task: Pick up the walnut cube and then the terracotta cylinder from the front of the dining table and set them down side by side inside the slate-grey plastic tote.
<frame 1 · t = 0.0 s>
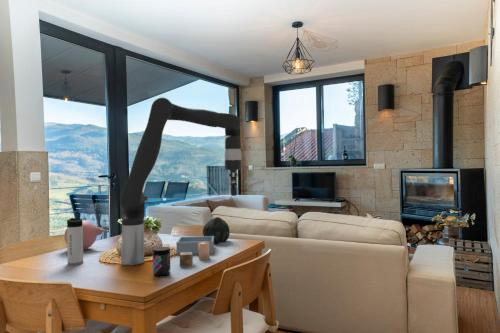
hand: (233, 194, 164), 29 cm above the table, tool pointing down, fingers open, 8 cm apart
terracotta cylinder: (204, 258, 167), on the table
travel mug: (75, 264, 161), on the table
supplement container: (161, 275, 142), on the table
walnut cube: (186, 264, 156), on the table
squash: (216, 242, 203), on the table
tote: (196, 250, 183), on the table
balloon: (85, 250, 189), on the table
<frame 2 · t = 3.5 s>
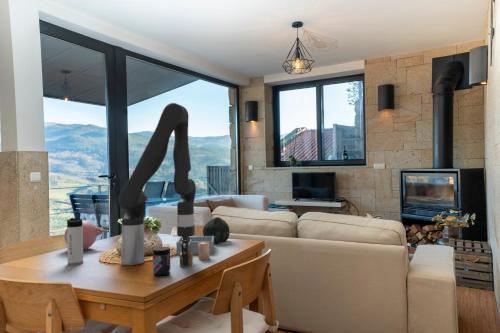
hand: (186, 263, 156), 0 cm above the table, tool pointing down, fingers closed on walnut cube, 5 cm apart
walnut cube: (186, 264, 157), on the table, touching gripper
everything else where it was.
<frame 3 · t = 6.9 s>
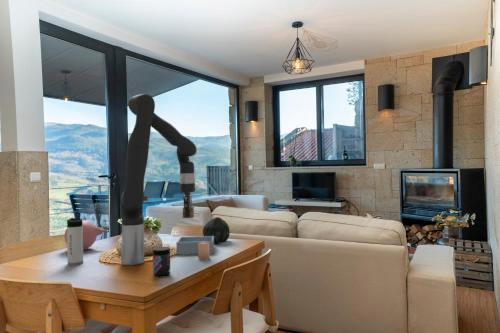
hand: (188, 216, 181), 18 cm above the table, tool pointing down, fingers closed on walnut cube, 5 cm apart
walnut cube: (188, 217, 181), point 17 cm above the table, touching gripper
everything else where it was.
when the fingers open (4 cm above the table, at t = 10.1 s): walnut cube drops 3 cm, resting on tote.
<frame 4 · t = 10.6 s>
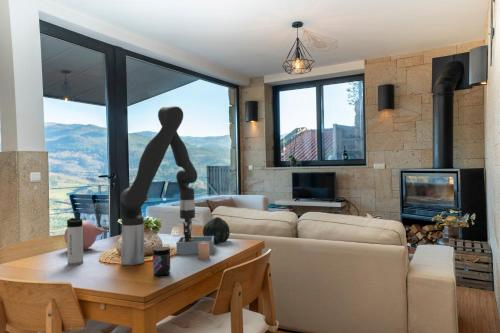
hand: (187, 240, 182), 5 cm above the table, tool pointing down, fingers open, 8 cm apart
walnut cube: (188, 249, 182), point 1 cm above the table, touching tote
everything else where it was.
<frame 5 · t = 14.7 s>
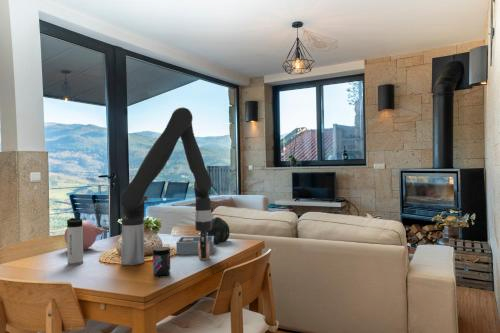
hand: (204, 256, 167), 1 cm above the table, tool pointing down, fingers closed on terracotta cylinder, 5 cm apart
terracotta cylinder: (204, 258, 167), on the table, touching gripper
everything else where it was.
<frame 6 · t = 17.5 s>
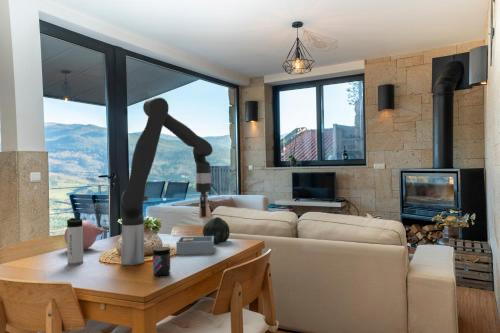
hand: (204, 215, 182), 18 cm above the table, tool pointing down, fingers closed on terracotta cylinder, 5 cm apart
terracotta cylinder: (204, 217, 182), point 17 cm above the table, touching gripper
everything else where it was.
when the fingers open (5 cm above the table, at t = 20.4 s): terracotta cylinder drops 3 cm, resting on tote.
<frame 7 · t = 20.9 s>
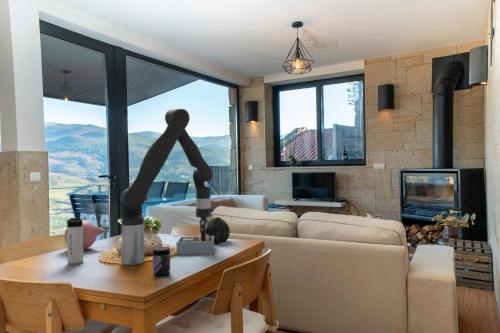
hand: (203, 239, 183), 6 cm above the table, tool pointing down, fingers open, 8 cm apart
terracotta cylinder: (204, 248, 183), point 1 cm above the table, touching tote
everything else where it was.
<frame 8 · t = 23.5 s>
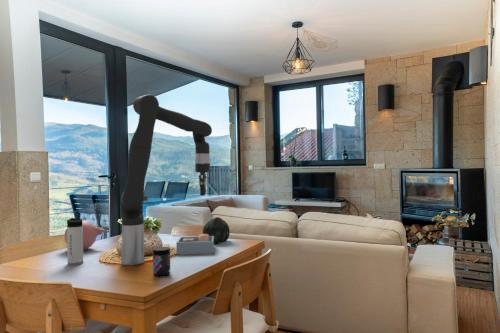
hand: (203, 194, 183), 28 cm above the table, tool pointing down, fingers open, 8 cm apart
nothing on the table moved.
at the end: walnut cube inside the target area on the tote (3.9 cm from its centre), point 0.8 cm above the tote's base; terracotta cylinder inside the target area on the tote (4.0 cm from its centre), point 0.9 cm above the tote's base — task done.
